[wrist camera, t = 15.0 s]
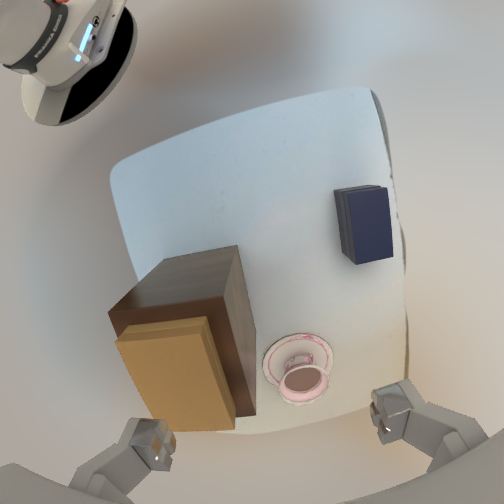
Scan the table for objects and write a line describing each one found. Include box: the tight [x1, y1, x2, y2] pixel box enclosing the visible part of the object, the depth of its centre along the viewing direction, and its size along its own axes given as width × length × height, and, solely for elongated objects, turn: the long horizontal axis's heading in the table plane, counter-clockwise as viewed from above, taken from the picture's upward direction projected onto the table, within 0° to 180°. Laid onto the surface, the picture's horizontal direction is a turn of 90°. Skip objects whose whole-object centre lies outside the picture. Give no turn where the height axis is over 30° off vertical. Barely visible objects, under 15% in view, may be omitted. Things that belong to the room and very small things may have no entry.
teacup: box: [263, 334, 334, 405], centre depth 41 cm, size 12×12×6 cm
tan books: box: [115, 316, 236, 432], centre depth 23 cm, size 11×8×3 cm
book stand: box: [108, 245, 256, 418], centre depth 33 cm, size 14×11×18 cm
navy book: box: [343, 187, 393, 265], centre depth 33 cm, size 9×6×2 cm, turn 11°
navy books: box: [334, 185, 380, 259], centre depth 36 cm, size 9×6×4 cm, turn 11°
